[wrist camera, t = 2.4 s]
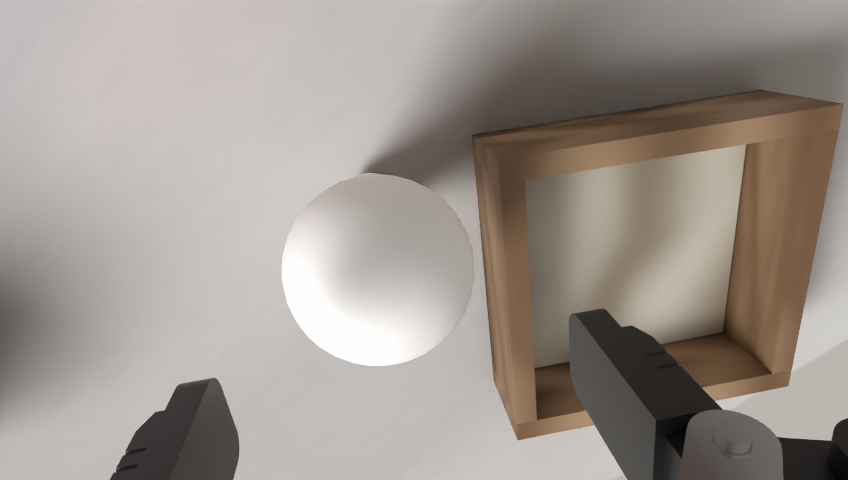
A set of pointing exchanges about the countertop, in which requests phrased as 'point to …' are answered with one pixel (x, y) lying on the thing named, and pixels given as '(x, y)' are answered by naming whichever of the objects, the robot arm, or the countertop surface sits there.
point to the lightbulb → (378, 270)
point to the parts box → (653, 241)
